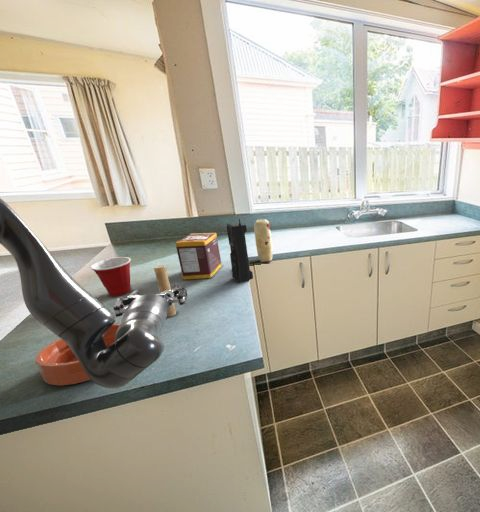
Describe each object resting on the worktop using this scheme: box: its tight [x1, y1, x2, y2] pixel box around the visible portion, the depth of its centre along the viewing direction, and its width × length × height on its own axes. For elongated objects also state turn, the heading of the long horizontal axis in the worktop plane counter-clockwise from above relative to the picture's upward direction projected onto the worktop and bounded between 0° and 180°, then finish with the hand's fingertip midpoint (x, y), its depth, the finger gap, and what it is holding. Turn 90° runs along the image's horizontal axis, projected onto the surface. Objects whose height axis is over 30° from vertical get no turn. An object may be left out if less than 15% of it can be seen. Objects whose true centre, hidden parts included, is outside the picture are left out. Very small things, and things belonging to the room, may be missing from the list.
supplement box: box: [174, 232, 223, 281], centre depth 124 cm, size 10×15×16 cm
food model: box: [253, 218, 273, 263], centre depth 140 cm, size 10×7×20 cm
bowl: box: [34, 323, 121, 386], centre depth 70 cm, size 17×17×6 cm
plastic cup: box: [89, 256, 132, 297], centre depth 105 cm, size 11×11×12 cm
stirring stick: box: [153, 264, 177, 318], centre depth 90 cm, size 3×3×16 cm
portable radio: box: [226, 218, 254, 283], centre depth 117 cm, size 8×6×25 cm
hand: (157, 290), depth 80 cm, fingers open, 8 cm apart
